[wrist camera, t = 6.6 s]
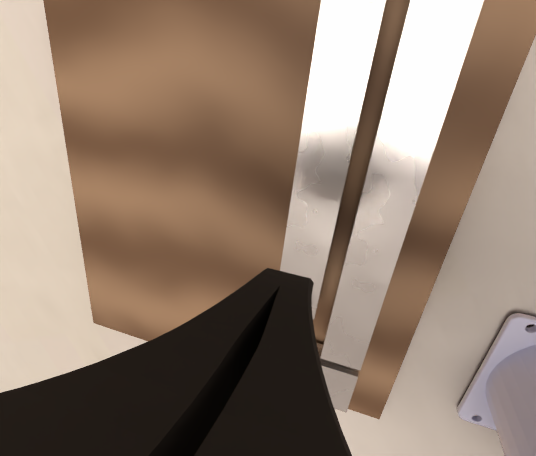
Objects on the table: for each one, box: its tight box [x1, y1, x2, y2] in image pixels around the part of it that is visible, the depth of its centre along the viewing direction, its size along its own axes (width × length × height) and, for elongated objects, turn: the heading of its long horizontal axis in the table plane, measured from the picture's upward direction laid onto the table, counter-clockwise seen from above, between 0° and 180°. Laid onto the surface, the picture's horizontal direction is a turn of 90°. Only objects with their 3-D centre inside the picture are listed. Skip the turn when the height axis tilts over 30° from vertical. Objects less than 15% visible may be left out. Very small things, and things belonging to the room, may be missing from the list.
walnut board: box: [44, 0, 536, 419], centre depth 18 cm, size 28×22×1 cm
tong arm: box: [280, 0, 387, 319], centre depth 13 cm, size 18×2×6 cm, turn 173°
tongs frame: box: [317, 0, 484, 412], centre depth 15 cm, size 24×5×2 cm, turn 173°
